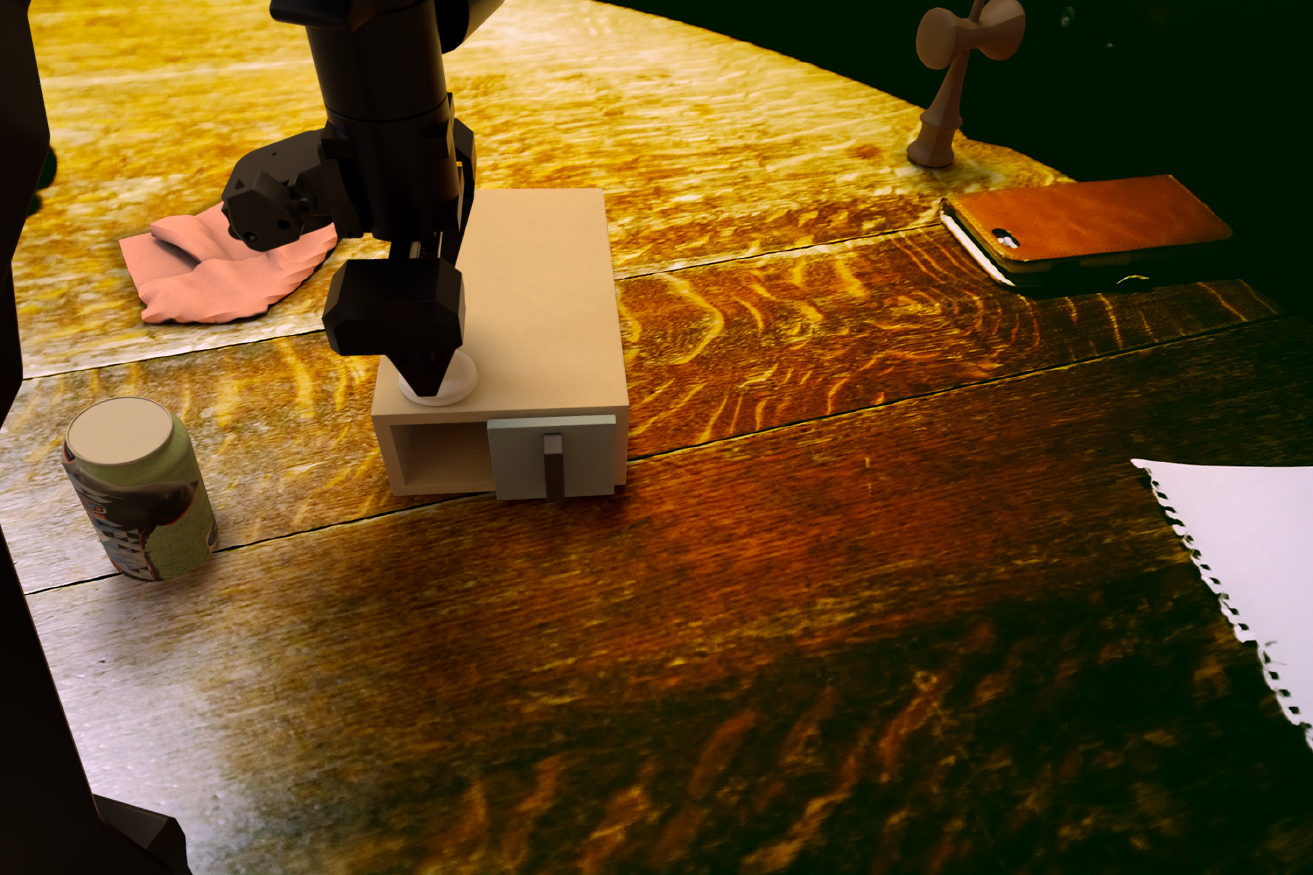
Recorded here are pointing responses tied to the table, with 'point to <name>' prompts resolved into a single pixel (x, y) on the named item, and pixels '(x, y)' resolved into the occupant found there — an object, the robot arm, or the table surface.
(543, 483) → the closet door
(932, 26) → the kendama
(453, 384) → the chess piece
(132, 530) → the beverage can
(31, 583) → the table surface
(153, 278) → the cloth
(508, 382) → the box
